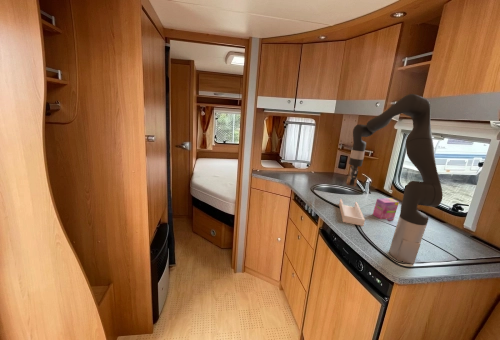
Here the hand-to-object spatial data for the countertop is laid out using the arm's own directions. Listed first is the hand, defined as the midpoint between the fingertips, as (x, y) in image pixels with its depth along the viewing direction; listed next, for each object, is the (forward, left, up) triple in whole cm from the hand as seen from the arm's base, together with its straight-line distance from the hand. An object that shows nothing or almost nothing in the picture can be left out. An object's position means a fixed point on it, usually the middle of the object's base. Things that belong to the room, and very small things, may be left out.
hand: (350, 183), depth 140 cm
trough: (-16, 0, -15) cm, 22 cm away
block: (0, 0, -1) cm, 1 cm away
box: (-10, -19, -15) cm, 26 cm away
